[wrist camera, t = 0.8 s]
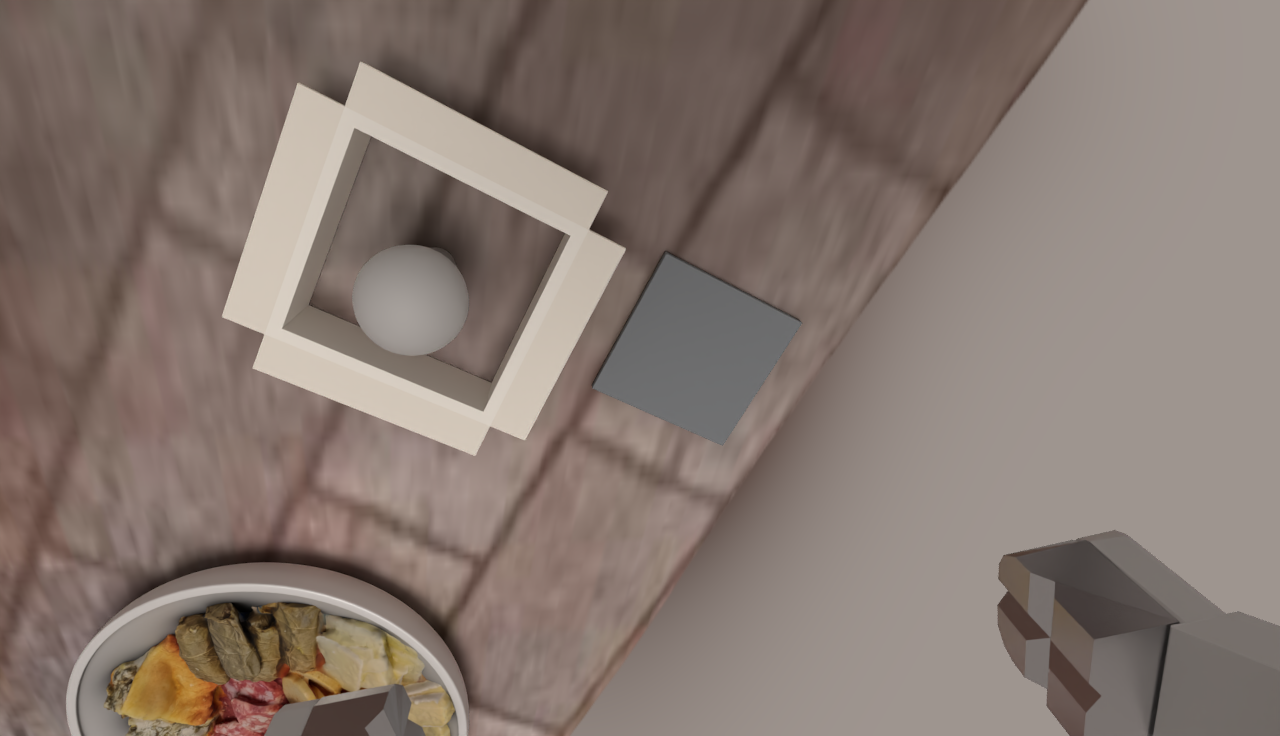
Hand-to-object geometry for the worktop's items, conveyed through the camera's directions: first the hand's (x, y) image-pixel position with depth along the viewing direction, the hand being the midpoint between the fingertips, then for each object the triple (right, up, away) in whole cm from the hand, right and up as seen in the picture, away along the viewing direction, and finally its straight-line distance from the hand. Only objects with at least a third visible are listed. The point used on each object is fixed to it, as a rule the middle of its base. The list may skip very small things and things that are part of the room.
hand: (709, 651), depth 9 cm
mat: (+3, +5, +40) cm, 40 cm away
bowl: (-30, -23, +50) cm, 63 cm away
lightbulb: (-14, +11, +36) cm, 40 cm away
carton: (-14, +11, +36) cm, 40 cm away
